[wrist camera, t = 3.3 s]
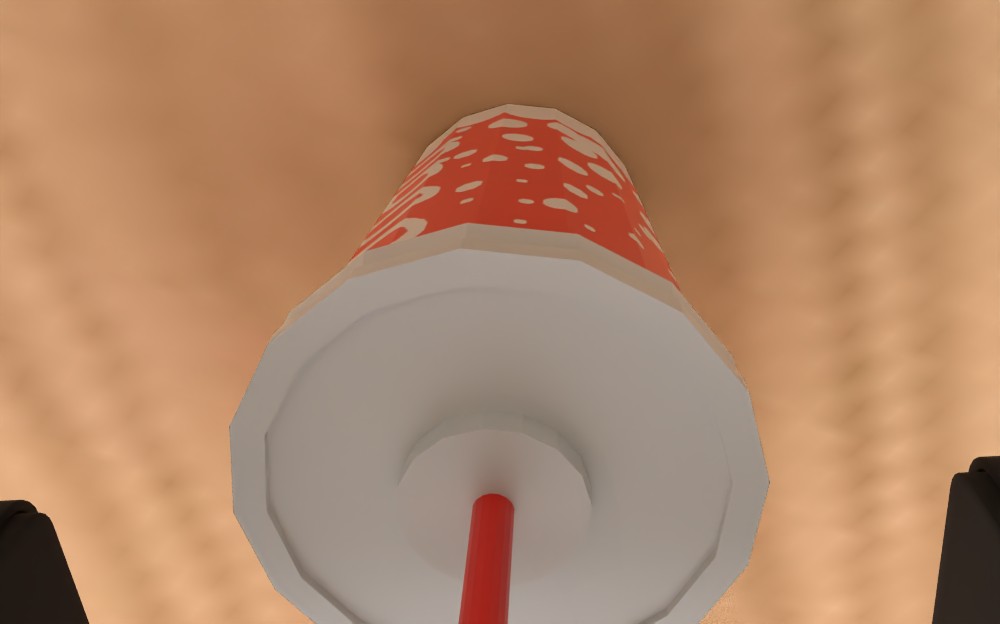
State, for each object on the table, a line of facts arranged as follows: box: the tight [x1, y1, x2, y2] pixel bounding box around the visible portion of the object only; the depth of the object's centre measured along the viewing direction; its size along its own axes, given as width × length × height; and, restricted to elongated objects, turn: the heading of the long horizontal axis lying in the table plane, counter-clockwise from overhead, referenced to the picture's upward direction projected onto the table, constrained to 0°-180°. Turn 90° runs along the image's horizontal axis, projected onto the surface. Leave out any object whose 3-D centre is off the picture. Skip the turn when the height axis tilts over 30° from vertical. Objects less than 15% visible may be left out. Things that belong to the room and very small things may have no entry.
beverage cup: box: [229, 104, 770, 624], centre depth 12 cm, size 6×6×14 cm
